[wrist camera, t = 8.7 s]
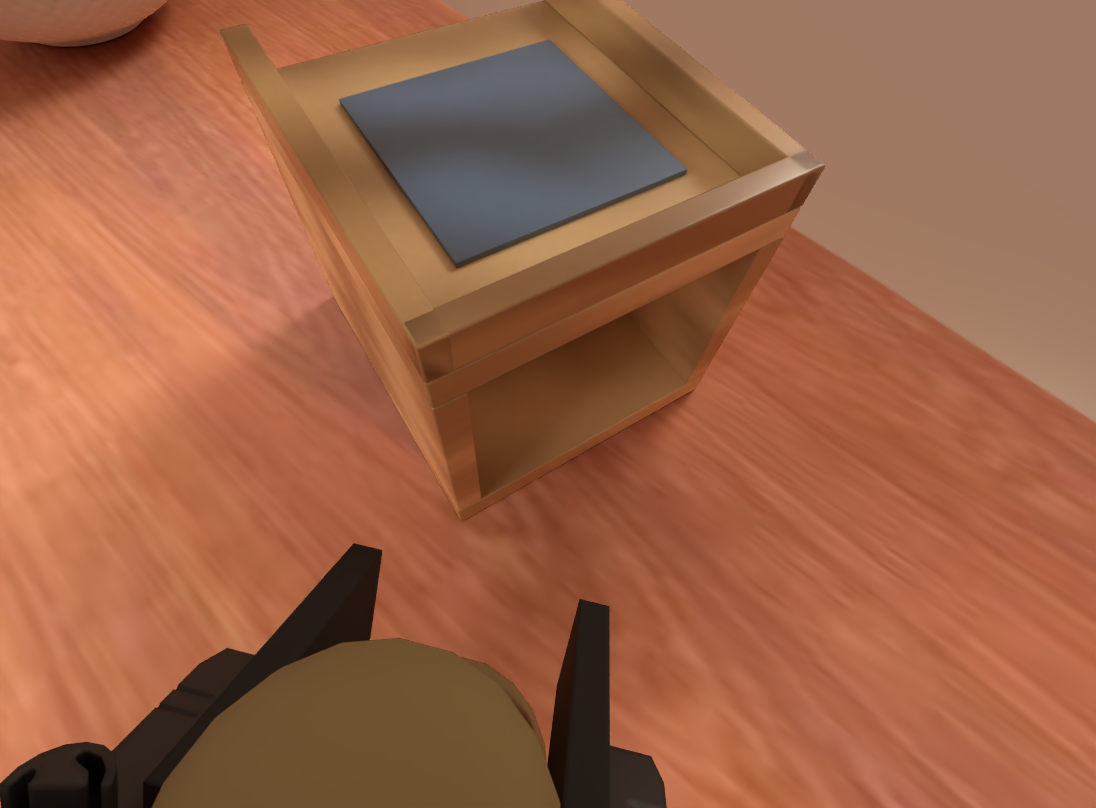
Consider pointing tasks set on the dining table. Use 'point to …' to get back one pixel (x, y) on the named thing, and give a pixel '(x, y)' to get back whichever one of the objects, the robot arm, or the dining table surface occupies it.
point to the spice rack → (528, 223)
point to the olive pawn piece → (370, 737)
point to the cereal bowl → (72, 20)
